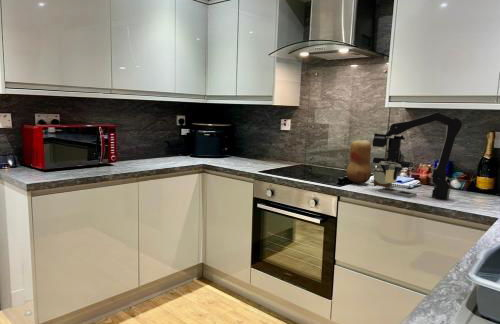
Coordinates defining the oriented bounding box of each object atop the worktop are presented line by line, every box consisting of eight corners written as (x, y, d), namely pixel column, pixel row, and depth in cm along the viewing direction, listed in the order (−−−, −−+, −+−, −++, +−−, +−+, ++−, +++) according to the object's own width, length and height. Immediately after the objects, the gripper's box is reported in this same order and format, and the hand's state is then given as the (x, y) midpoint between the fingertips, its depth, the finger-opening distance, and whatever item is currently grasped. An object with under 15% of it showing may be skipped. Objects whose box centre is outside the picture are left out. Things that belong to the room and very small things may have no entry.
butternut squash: (340, 182, 213) (344, 138, 209) (354, 180, 221) (358, 138, 218) (361, 187, 202) (365, 141, 199) (375, 184, 211) (379, 140, 207)
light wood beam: (396, 182, 187) (397, 170, 187) (392, 183, 185) (393, 171, 184) (388, 181, 190) (389, 169, 189) (384, 182, 187) (386, 170, 187)
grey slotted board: (416, 197, 183) (416, 193, 182) (409, 199, 177) (409, 195, 177) (385, 191, 194) (385, 187, 194) (377, 193, 188) (378, 189, 188)
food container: (397, 189, 202) (399, 171, 201) (392, 190, 198) (394, 171, 197) (377, 184, 211) (378, 167, 210) (371, 185, 207) (373, 168, 206)
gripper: (419, 149, 184) (416, 180, 186) (383, 145, 197) (381, 174, 199) (410, 150, 176) (406, 183, 178) (373, 146, 190) (370, 176, 192)
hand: (390, 179), depth 187 cm, fingers closed on light wood beam, 4 cm apart
